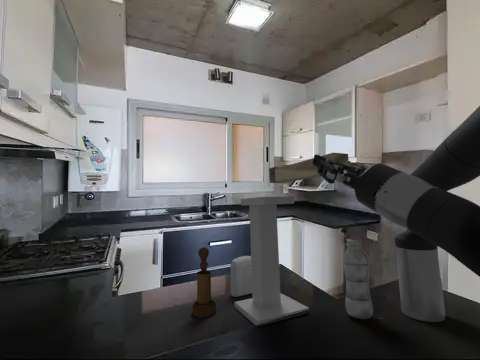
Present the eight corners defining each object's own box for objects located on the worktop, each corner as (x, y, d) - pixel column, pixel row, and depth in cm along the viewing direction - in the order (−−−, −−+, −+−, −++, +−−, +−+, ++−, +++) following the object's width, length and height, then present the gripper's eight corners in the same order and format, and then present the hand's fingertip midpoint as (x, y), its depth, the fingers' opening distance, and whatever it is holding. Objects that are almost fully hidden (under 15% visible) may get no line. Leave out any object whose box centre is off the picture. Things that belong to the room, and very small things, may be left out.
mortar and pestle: (205, 319, 65) (204, 250, 67) (187, 314, 69) (187, 248, 71) (220, 310, 71) (219, 246, 73) (203, 306, 74) (202, 245, 76)
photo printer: (253, 288, 89) (252, 253, 90) (260, 291, 86) (259, 255, 87) (229, 295, 83) (228, 257, 85) (235, 298, 80) (234, 259, 81)
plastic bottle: (351, 309, 69) (345, 236, 71) (377, 316, 64) (371, 238, 66) (341, 317, 65) (336, 239, 67) (369, 325, 60) (362, 241, 62)
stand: (279, 297, 80) (275, 198, 83) (309, 313, 67) (302, 196, 71) (234, 307, 73) (231, 199, 76) (258, 327, 60) (253, 196, 64)
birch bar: (283, 183, 70) (282, 169, 70) (350, 171, 49) (348, 151, 49) (269, 182, 68) (269, 168, 68) (333, 170, 47) (332, 149, 48)
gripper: (432, 174, 40) (352, 145, 55) (373, 171, 34) (300, 139, 49) (412, 214, 43) (340, 176, 57) (355, 218, 37) (291, 174, 51)
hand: (322, 159), depth 53 cm, fingers closed on birch bar, 4 cm apart
